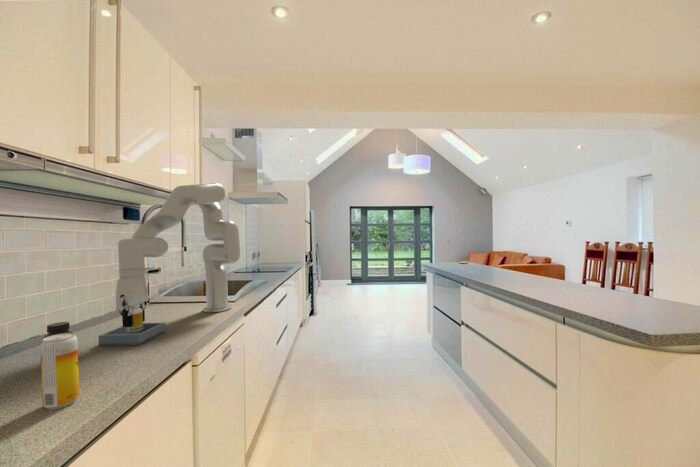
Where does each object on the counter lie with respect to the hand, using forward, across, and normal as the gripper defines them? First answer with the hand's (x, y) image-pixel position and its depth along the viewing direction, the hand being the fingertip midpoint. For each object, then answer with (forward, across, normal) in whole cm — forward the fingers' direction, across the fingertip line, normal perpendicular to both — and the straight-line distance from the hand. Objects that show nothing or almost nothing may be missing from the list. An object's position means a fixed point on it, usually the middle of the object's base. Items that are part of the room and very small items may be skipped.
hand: (134, 323), depth 114 cm
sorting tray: (+5, 0, 0) cm, 5 cm away
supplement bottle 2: (+3, 0, 0) cm, 3 cm away
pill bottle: (+5, +42, +14) cm, 45 cm away
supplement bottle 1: (+5, +22, -6) cm, 24 cm away
